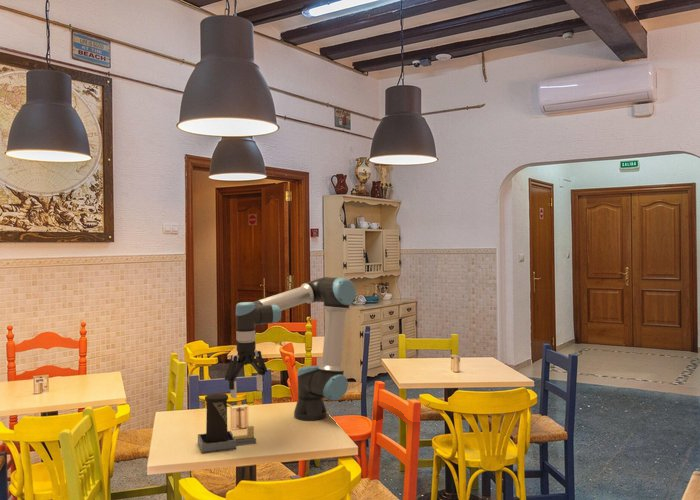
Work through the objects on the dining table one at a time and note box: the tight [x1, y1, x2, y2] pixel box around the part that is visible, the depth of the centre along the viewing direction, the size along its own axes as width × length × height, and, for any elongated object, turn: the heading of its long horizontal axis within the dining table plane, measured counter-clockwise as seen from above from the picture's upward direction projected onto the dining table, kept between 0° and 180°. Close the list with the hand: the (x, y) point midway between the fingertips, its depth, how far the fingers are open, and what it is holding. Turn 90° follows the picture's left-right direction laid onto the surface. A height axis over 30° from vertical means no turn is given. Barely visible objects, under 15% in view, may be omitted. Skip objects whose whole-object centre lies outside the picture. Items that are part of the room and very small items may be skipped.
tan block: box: [233, 425, 255, 440], centre depth 246 cm, size 8×2×5 cm, turn 111°
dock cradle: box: [197, 430, 237, 454], centre depth 242 cm, size 13×13×4 cm
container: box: [204, 392, 229, 443], centre depth 242 cm, size 9×9×20 cm
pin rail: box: [236, 437, 257, 447], centre depth 246 cm, size 8×4×2 cm, turn 111°
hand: (246, 394), depth 246 cm, fingers open, 13 cm apart
